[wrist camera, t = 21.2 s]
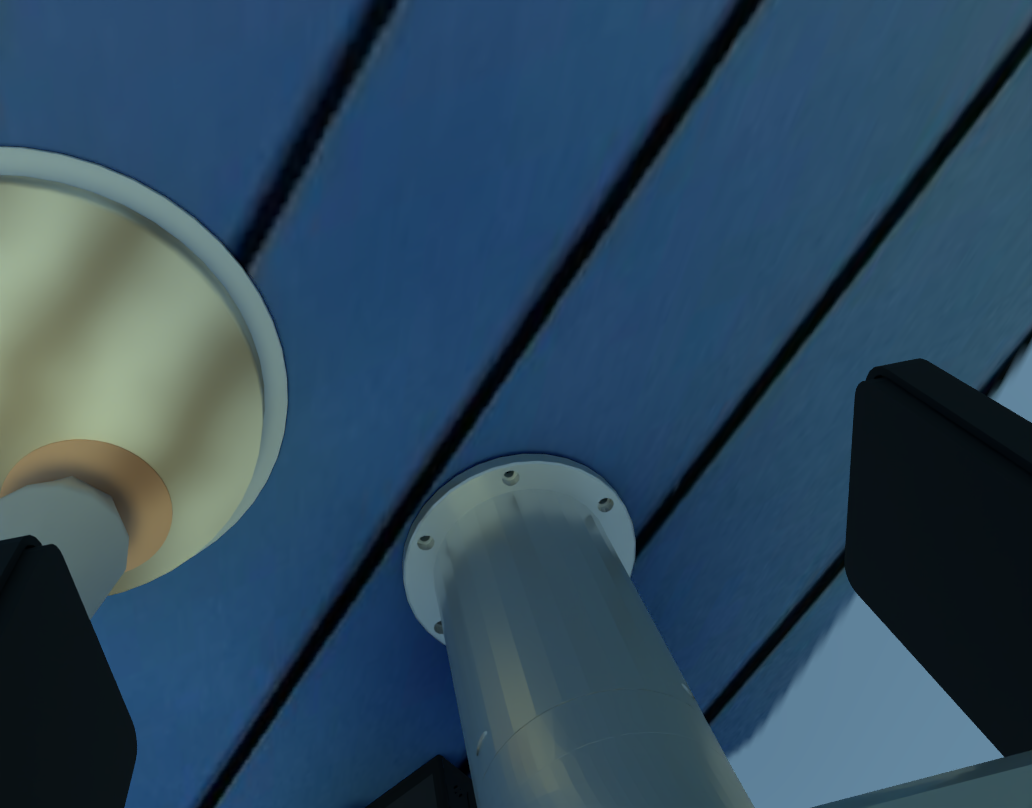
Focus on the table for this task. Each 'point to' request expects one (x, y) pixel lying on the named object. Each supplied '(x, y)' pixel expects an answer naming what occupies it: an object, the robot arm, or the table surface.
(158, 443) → the dial
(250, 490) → the dial base
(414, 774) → the digital camera
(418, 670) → the table surface
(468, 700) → the robot arm
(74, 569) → the salt shaker
